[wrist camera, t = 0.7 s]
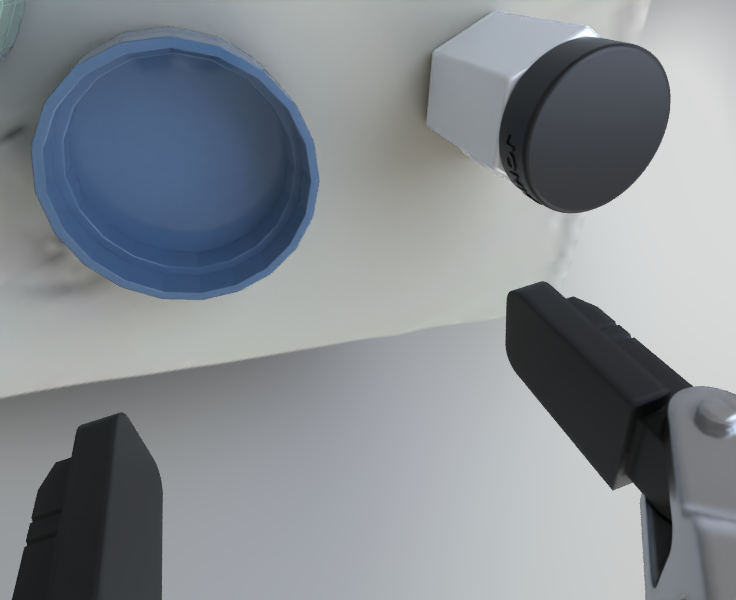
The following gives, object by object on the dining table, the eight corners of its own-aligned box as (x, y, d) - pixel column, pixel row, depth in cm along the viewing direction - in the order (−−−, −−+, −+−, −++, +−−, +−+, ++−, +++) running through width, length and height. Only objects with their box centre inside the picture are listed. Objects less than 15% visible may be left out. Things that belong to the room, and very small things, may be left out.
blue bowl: (-12, 104, 27) (-44, 128, 23) (225, -23, 27) (234, -20, 23) (155, 295, 36) (152, 338, 32) (335, 197, 36) (356, 227, 32)
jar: (397, 111, 34) (485, 172, 24) (468, -14, 31) (599, -2, 22) (492, 170, 38) (599, 241, 29) (562, 65, 36) (705, 104, 26)
